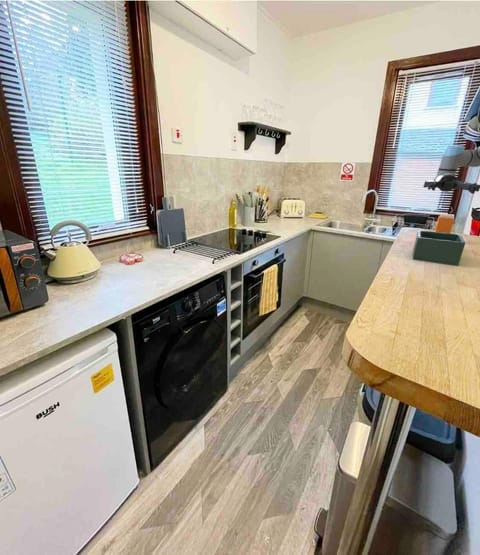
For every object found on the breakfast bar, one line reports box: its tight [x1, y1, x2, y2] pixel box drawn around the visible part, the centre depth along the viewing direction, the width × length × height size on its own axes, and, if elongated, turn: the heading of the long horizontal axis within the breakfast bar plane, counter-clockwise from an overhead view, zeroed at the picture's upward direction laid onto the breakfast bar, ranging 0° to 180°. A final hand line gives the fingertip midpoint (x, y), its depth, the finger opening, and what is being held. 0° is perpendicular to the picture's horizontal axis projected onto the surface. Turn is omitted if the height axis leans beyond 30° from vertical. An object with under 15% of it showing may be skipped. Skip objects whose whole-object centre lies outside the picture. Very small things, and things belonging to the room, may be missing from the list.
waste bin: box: [412, 229, 466, 267], centre depth 94 cm, size 13×13×8 cm
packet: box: [434, 213, 455, 233], centre depth 112 cm, size 5×4×11 cm
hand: (453, 188), depth 113 cm, fingers open, 13 cm apart
